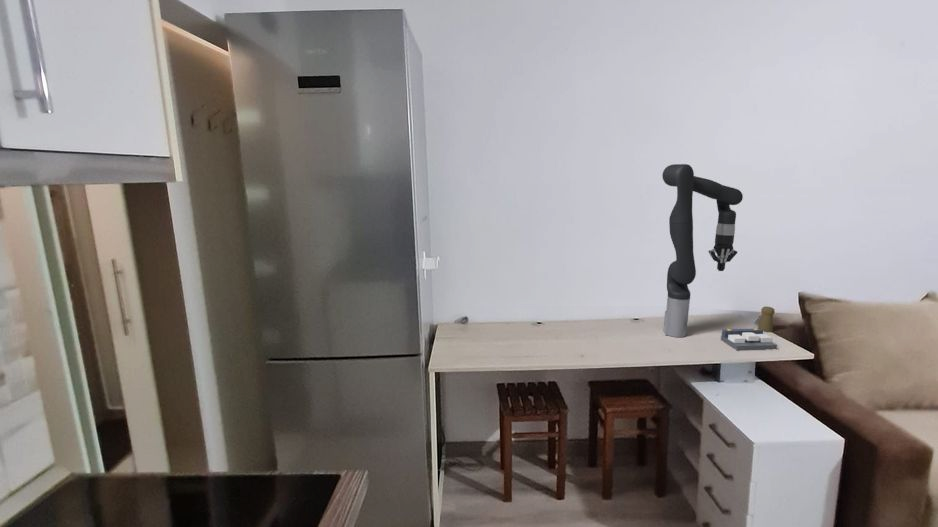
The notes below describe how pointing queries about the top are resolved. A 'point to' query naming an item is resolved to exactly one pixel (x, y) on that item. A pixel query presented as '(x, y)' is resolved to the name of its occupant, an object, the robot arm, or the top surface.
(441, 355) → the top surface
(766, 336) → the outer key
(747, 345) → the keypad
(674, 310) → the robot arm
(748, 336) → the middle key
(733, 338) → the inner key
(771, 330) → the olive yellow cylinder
